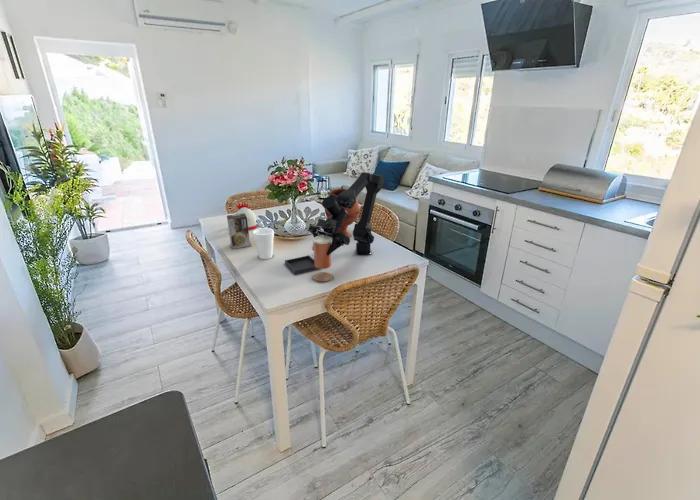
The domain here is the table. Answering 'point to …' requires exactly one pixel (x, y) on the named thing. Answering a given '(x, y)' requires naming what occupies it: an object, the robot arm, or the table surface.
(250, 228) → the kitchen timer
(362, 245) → the robot arm
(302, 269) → the tray
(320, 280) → the coaster
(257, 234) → the foam cup
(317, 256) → the canister
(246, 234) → the coffee box
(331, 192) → the terracotta vase
